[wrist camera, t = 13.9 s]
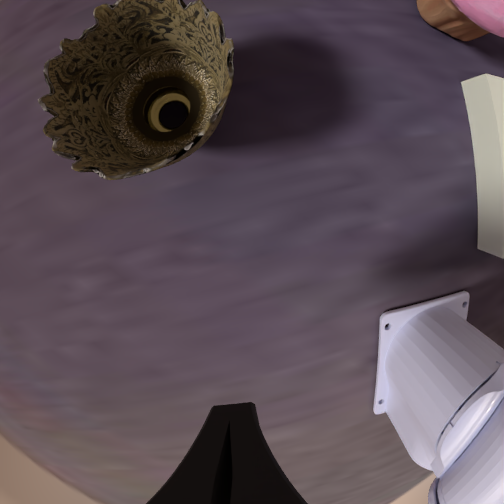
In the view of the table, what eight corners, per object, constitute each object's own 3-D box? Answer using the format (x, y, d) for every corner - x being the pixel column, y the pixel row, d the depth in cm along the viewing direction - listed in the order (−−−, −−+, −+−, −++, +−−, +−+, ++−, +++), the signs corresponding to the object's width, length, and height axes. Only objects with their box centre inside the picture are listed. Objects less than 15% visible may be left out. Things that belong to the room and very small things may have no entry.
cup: (191, 37, 15) (161, -40, 7) (264, 125, 16) (281, 82, 8) (94, 112, 15) (14, 83, 8) (159, 203, 17) (97, 223, 9)
